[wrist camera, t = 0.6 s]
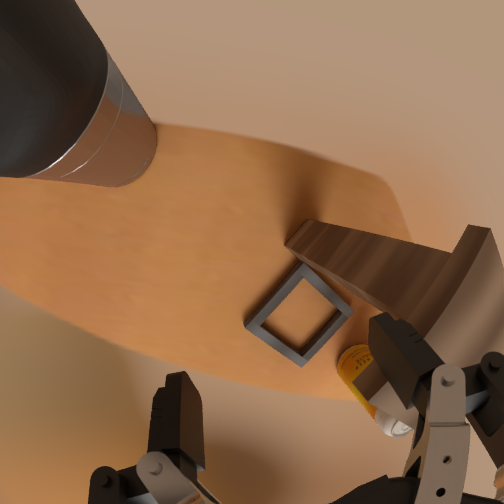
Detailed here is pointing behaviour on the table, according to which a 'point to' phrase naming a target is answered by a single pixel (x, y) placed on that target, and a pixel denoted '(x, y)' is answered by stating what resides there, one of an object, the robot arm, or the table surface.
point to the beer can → (348, 370)
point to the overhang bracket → (398, 296)
